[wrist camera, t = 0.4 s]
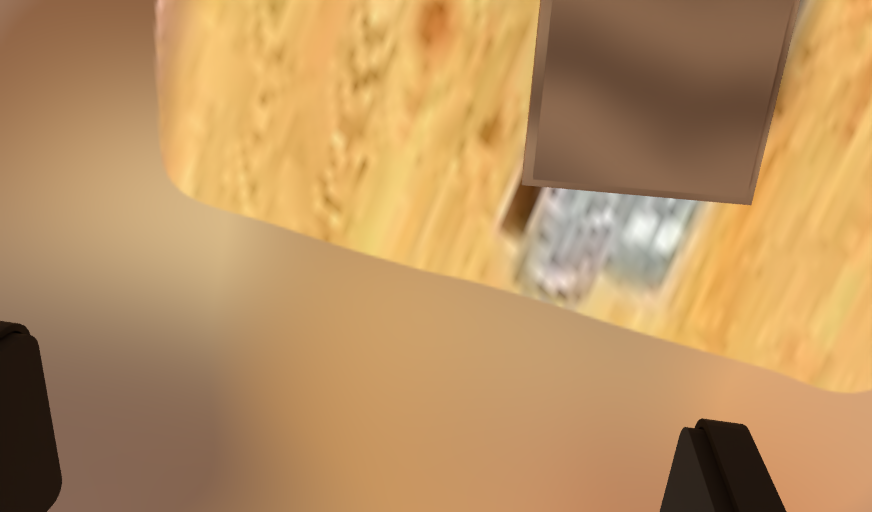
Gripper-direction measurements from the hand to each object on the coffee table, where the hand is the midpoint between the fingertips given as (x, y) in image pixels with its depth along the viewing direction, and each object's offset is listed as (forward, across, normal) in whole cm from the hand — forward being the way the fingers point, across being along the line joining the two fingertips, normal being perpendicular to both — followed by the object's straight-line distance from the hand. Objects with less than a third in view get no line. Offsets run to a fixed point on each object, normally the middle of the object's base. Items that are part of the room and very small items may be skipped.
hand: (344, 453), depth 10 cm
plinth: (+30, -8, -2) cm, 31 cm away
